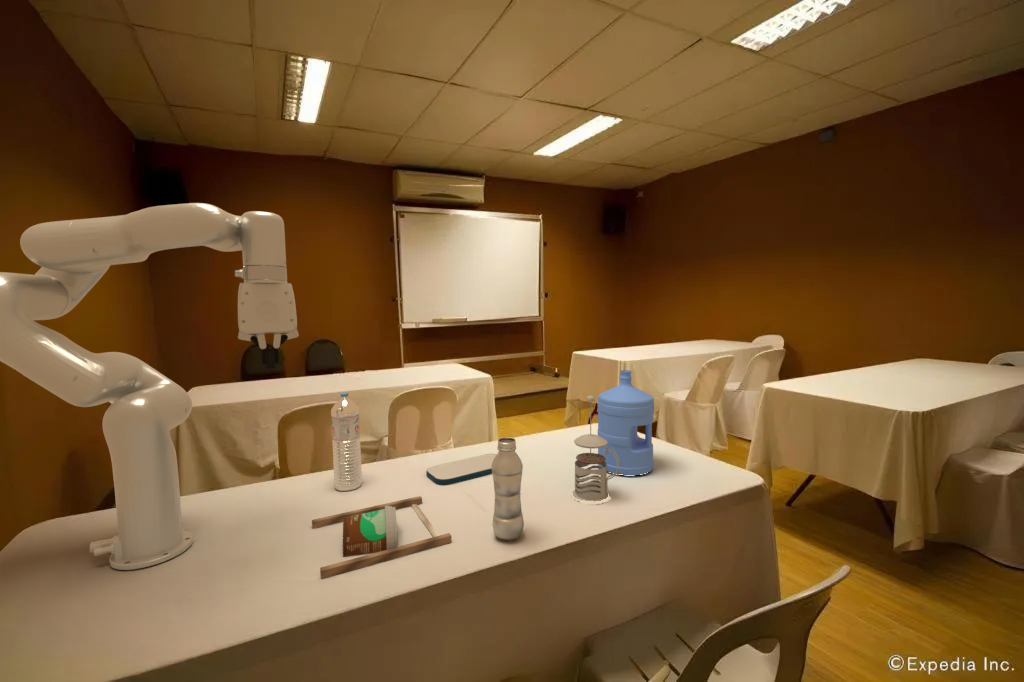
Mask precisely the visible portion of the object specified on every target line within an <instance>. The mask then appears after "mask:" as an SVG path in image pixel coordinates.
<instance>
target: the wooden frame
mask: <svg viewBox="0 0 1024 682" xmlns="http://www.w3.org/2000/svg"><path fill="white" fill-rule="evenodd" d="M422 504H423V497H422V496H421V495H419V496H414V497H411V498H404V499H402V500H401V499H400V500H397V501H391V502H386V503H382V504H379V505H378V504H377V505H374V506H373V505H372V506H369V507H364V508H360V509H355V510H351V511H346V512H342V513H338V514H337V513H336V514H332V515H327V516H324V517H319V518H314V519H311V527H312V529H316V528H317V529H318V528H321V527H325V526H330V525H335V524H338V523H342V522H343V521H344V518H346V517H350V516H355V515H359V514H364V513H368V512H373V511H378V510H382V509H385V506H392V507H395V509H396V510H400V509H405V508H409V507H411V508H412V509H413V510H414V512H415V513H416V515H417V516H418V518H419V519H420V520H421V523H422V524H424V526H425V528H426V529H427V531H428V532H429V533H430V535H431V536H432V537H428V538H426V539H422V540H418V541H414V542H411V543H406V544H403V545H400V546H399V545H398V547H395V548H391V549H388V550H384V551H380V552H377V553H370V554H364V555H363V556H358V557H354V558H351V559H348V560H344V561H340V562H337V563H332V564H329V565H325V566H321V567H320V568H319V569H320V570H319V574H320V578H321V580H323V579H325V578H330V577H333V576H336V575H340V574H344V573H346V572H351V571H355V570H358V569H362V568H365V567H369V566H372V565H376V564H380V563H383V562H386V561H390V560H394V559H397V558H400V557H404V556H408V555H412V554H414V553H418V552H422V550H423V551H426V550H429V549H432V548H437V547H440V546H443V545H447V544H450V543H452V535H451V533H450V532H448V533H444V534H439V533H438V532H437V529H436V528H435V527H434V526H433V524H432V523H431V522H430V521H429V518H427V516H426V514H425V513H424V512H423V510H421V508H420V507H419V505H422Z"/></svg>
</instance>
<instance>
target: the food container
mask: <svg viewBox="0 0 1024 682" xmlns="http://www.w3.org/2000/svg"><path fill="white" fill-rule="evenodd" d="M397 523H398V522H397V509H395V507H392V506H385V509H382V510H378V511H373V512H368V513H364V514H359V515H355V516H350V517H346V518H344V521H343V524H342V557H352V556H360V555H369V554H373V553H377V552H380V551H384V550H388V549H391V548H395V547H399V544H398V542H399V541H398V524H397Z"/></svg>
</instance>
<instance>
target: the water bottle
mask: <svg viewBox="0 0 1024 682" xmlns="http://www.w3.org/2000/svg"><path fill="white" fill-rule="evenodd" d="M330 416H331V427H332V428H331V429H332V431H331V432H332V440H331V442H332V443H331V444H332V463H333V484H334V488H335V489H336V490H337V491H339V492H349V491H353V490H357V489H358V488H360V487H361V486H362V483H363V478H362V475H363V474H362V473H363V472H362V454H361V453H362V450H361V436H360V408H359V406H358V405H357V403H356V402H355V401H354V400H353V399H351V398H349V392H346V391H345V392H341V393H340V399H339V400H338V401H336V402H335V403H334V404H333V406H332V407H331V409H330Z"/></svg>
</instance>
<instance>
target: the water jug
mask: <svg viewBox="0 0 1024 682" xmlns="http://www.w3.org/2000/svg"><path fill="white" fill-rule="evenodd" d="M619 373H620V376H619V385H617V386H614V387H612V388H610V389H607V390H605V391H603V392H601V393H599V395H598V396H597V398H598V399H597V435H598V436H600V437H602V438H603V439H605V440H607V445H606V446H605V447H602V448H597V449H598V450H597V454H600V455H603V456H604V457H605V459H606V460H605V461H604V462H605V463H606V464H607V471H608V472H611V473H615V472H616V470H617V461H616V458H617V456H618V458H619V468H618V471H617V473H616V474H623V475H640V474H644V473H647V472H650V471H651V470H652V469H653V470H654V466H655V465H654V444H653V442H652V440H653V439H652V437H653V432H652V431H653V427H652V426H653V422H654V421H655V419H654V413H655V402H654V401H655V399H654V397H653V395H651V394H650V393H647V392H645V391H644V390H642V389H640V388H638V387H635V386H633V384H632V370H625V369H624V370H619ZM642 426H645V429H644V432H645V433H644V434H645V436H644V438H643V437H640V436H639V434H638V427H642ZM607 448H610V449H612V450H613V451H614V452H615V453H616V454H617V456H616V454H615V453H614V452H613V451H612V450H610V449H608V450H609V451H611V452H612V453H613V454H614V455H615V456H616V458H615V456H614V455H613V454H612V453H611V452H609V451H608V453H607V455H606V450H607ZM617 460H618V459H617ZM597 466H599V467H601V468H604V467H603V466H602V465H600V464H597ZM653 470H652V471H653ZM652 471H651V472H652ZM608 472H607V473H608ZM651 472H650V473H651Z"/></svg>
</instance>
